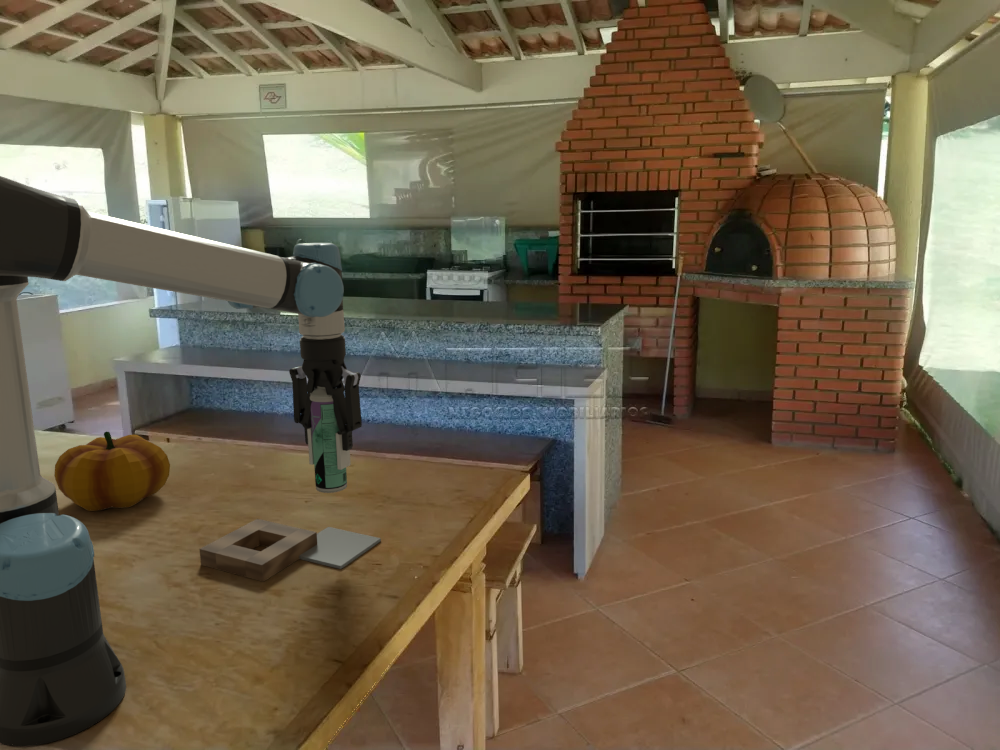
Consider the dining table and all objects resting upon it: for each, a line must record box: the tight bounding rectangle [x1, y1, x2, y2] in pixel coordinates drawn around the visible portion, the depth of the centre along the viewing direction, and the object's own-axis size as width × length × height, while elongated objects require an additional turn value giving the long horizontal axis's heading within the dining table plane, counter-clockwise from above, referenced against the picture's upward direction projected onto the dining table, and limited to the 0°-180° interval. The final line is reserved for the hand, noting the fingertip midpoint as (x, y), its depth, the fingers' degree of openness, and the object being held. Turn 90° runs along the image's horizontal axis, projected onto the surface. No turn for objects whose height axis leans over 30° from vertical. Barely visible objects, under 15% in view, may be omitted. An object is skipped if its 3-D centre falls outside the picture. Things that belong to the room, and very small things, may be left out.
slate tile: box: [298, 526, 382, 570], centre depth 136 cm, size 12×12×1 cm
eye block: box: [198, 518, 318, 582], centre depth 133 cm, size 14×14×3 cm
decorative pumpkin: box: [53, 431, 171, 512], centre depth 157 cm, size 20×22×15 cm
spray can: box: [310, 386, 348, 494], centre depth 131 cm, size 6×6×20 cm
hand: (330, 464), depth 132 cm, fingers closed on spray can, 5 cm apart
